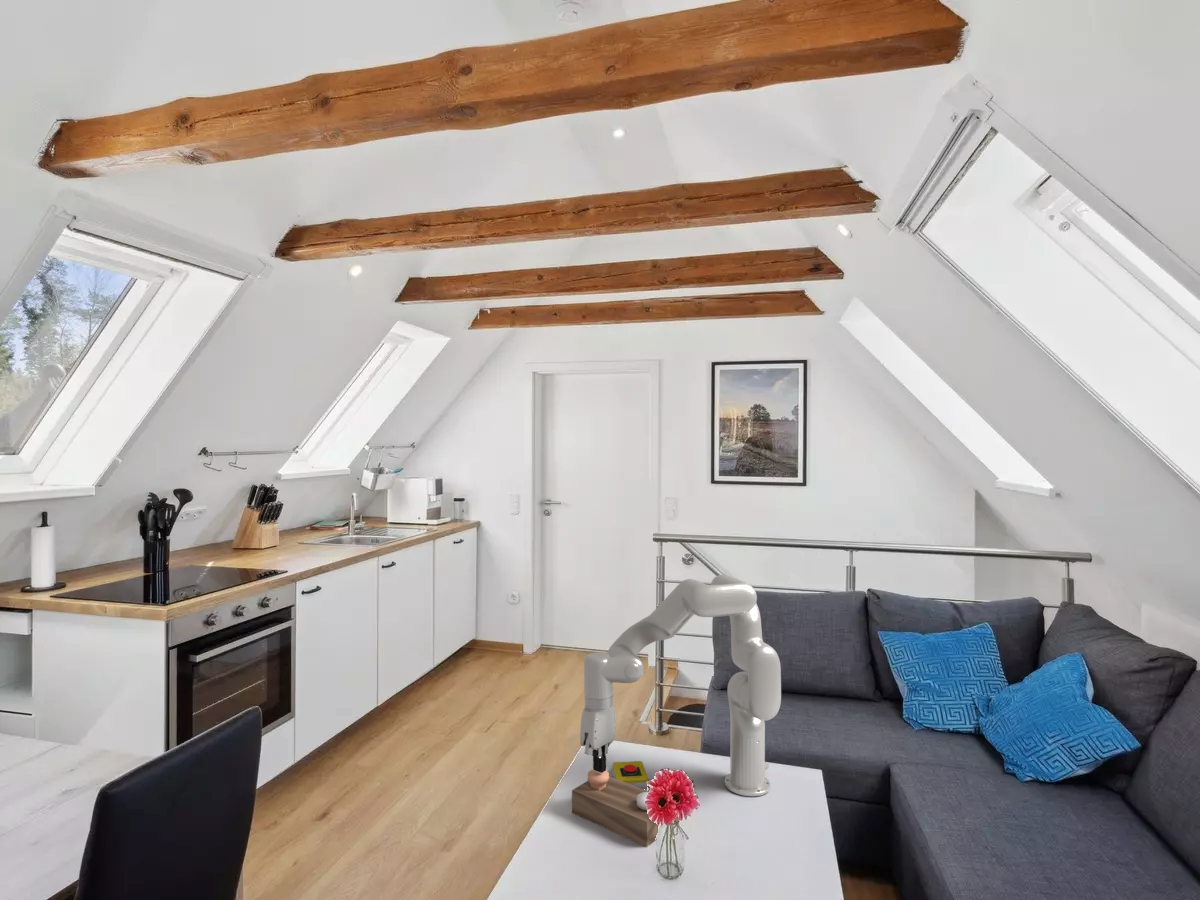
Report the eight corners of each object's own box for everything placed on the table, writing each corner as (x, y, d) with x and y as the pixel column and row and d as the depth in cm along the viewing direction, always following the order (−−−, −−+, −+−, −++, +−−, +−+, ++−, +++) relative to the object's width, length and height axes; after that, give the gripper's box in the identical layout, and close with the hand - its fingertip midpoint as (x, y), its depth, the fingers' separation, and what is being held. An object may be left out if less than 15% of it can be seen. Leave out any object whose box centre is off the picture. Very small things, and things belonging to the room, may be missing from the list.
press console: (600, 794, 186) (600, 772, 186) (674, 825, 171) (674, 801, 171) (571, 812, 177) (571, 789, 177) (647, 847, 162) (647, 822, 162)
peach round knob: (596, 794, 183) (596, 766, 183) (613, 801, 179) (613, 773, 179) (583, 803, 179) (583, 774, 179) (599, 810, 175) (599, 781, 175)
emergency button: (617, 779, 187) (610, 754, 202) (617, 795, 187) (610, 769, 202) (650, 777, 188) (641, 753, 203) (650, 793, 188) (641, 767, 203)
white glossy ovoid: (645, 819, 173) (645, 789, 173) (663, 827, 169) (663, 797, 169) (632, 829, 169) (632, 798, 169) (650, 837, 165) (650, 806, 165)
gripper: (605, 690, 187) (606, 756, 187) (569, 706, 176) (570, 777, 176) (627, 696, 182) (627, 763, 183) (591, 713, 171) (592, 785, 171)
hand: (599, 770), depth 179 cm, fingers closed
